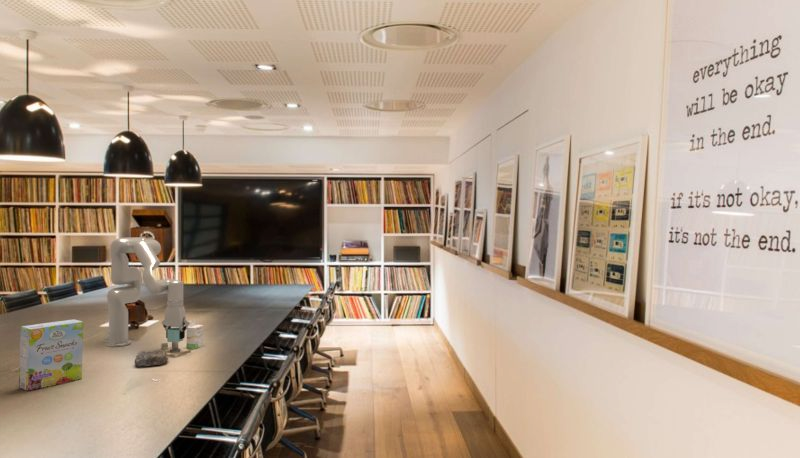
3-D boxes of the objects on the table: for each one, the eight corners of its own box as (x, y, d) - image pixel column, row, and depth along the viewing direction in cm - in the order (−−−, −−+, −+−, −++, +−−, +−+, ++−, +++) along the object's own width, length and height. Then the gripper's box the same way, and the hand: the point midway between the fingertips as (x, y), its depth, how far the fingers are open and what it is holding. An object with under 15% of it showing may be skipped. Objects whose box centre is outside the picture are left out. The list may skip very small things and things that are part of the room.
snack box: (28, 392, 216) (28, 328, 215) (18, 388, 220) (18, 326, 220) (83, 379, 234) (84, 320, 234) (73, 375, 239) (73, 318, 238)
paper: (127, 377, 239) (127, 375, 239) (168, 373, 246) (169, 371, 246) (122, 395, 216) (122, 392, 216) (169, 390, 223) (169, 388, 223)
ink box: (194, 349, 289) (194, 322, 288) (186, 348, 290) (186, 321, 289) (203, 345, 297) (203, 319, 297) (195, 345, 298) (195, 318, 298)
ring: (164, 341, 276) (164, 329, 276) (173, 338, 283) (174, 327, 283) (176, 342, 274) (176, 330, 274) (186, 339, 282) (186, 328, 281)
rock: (134, 369, 251) (169, 367, 258) (134, 355, 251) (169, 353, 257) (134, 362, 262) (167, 359, 269) (135, 348, 262) (168, 347, 269)
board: (149, 354, 276) (149, 331, 276) (164, 349, 288) (165, 327, 288) (175, 357, 272) (175, 333, 272) (190, 351, 284) (190, 329, 283)
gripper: (156, 304, 277) (156, 338, 278) (185, 306, 273) (185, 340, 273) (166, 302, 285) (166, 335, 285) (194, 304, 280) (194, 337, 280)
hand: (175, 337), depth 279 cm, fingers closed on ring, 7 cm apart
